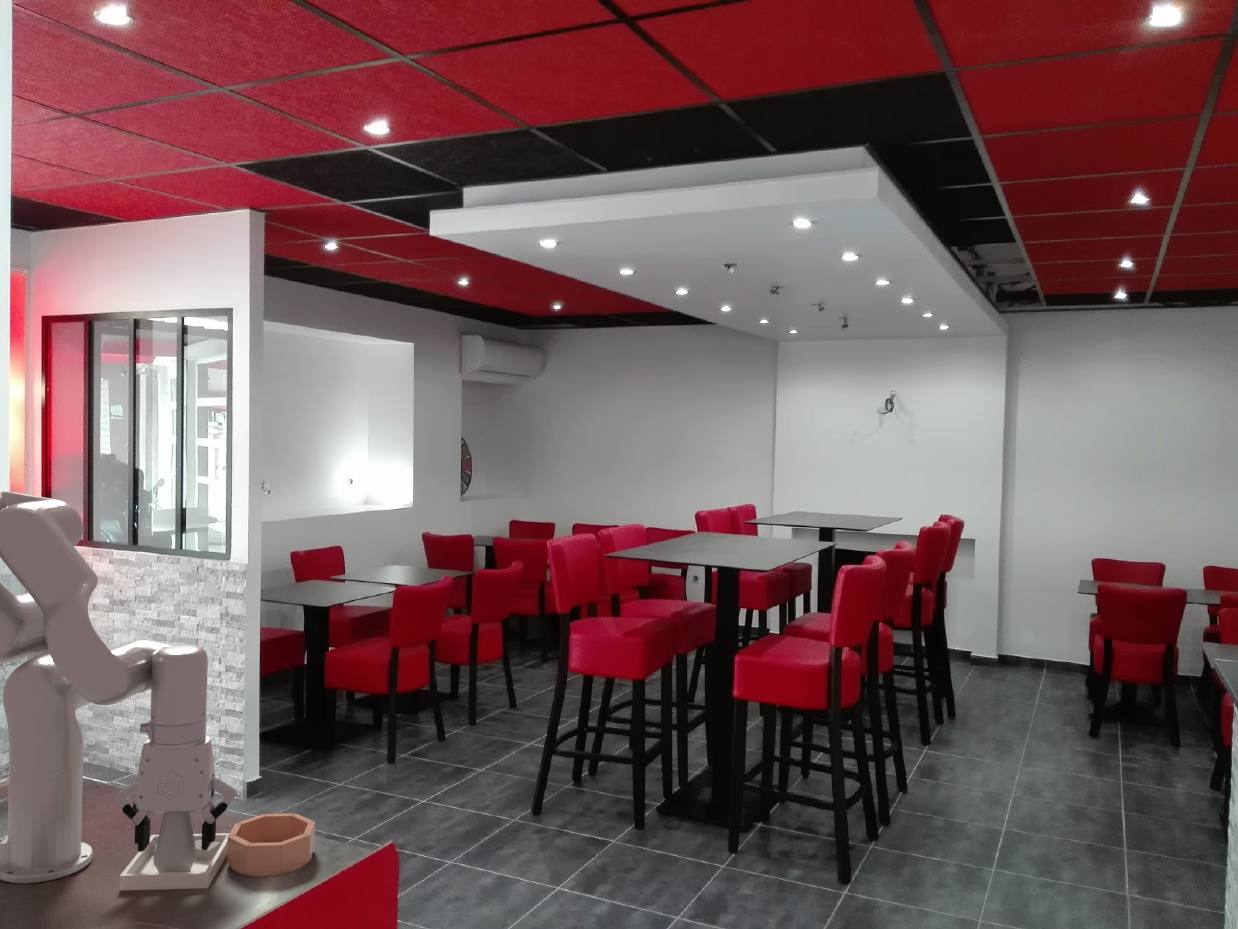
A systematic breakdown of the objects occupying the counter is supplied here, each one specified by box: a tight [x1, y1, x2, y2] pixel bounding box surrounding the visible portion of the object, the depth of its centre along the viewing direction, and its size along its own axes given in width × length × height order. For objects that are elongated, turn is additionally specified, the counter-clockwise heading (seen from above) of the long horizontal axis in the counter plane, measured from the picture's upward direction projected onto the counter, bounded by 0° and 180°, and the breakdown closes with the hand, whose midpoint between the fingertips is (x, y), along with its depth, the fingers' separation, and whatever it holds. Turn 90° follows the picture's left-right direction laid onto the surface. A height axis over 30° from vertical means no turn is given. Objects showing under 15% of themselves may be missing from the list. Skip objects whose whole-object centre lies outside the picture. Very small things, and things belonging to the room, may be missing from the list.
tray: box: [119, 832, 230, 892], centre depth 146 cm, size 12×14×2 cm
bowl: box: [226, 812, 316, 878], centre depth 150 cm, size 12×12×5 cm
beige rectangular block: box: [195, 840, 221, 861], centre depth 151 cm, size 4×3×2 cm
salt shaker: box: [153, 812, 197, 873], centre depth 144 cm, size 6×6×13 cm
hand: (175, 847), depth 144 cm, fingers open, 8 cm apart
